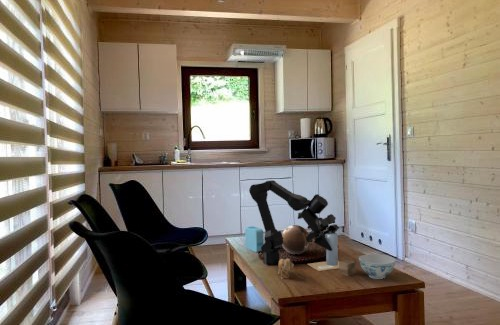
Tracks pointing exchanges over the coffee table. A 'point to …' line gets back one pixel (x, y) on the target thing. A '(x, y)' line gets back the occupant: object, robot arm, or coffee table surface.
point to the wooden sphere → (295, 239)
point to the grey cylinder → (332, 255)
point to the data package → (254, 238)
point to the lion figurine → (284, 267)
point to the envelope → (323, 266)
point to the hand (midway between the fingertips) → (334, 249)
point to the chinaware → (377, 265)
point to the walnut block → (347, 267)
